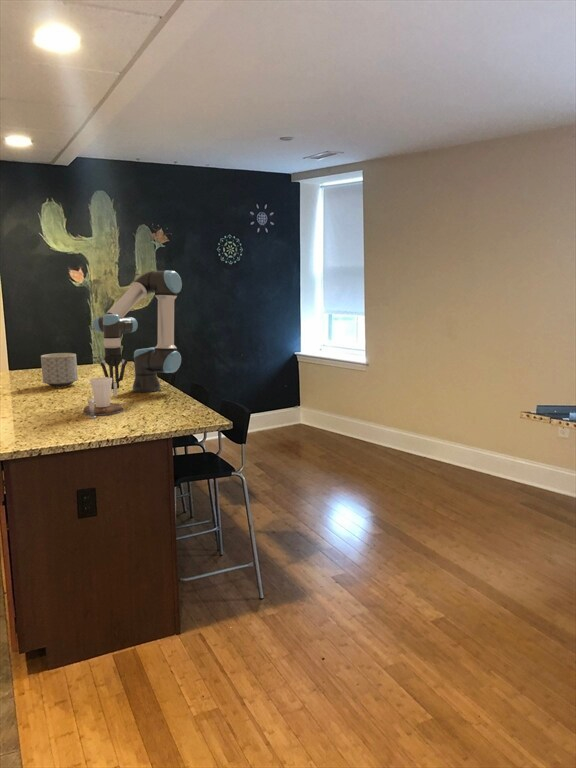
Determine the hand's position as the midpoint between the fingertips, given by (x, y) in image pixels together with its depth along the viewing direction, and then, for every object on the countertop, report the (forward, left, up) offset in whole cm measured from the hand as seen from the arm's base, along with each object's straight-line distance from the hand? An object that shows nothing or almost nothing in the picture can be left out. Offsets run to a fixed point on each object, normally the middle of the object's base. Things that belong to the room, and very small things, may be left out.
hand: (115, 395), depth 293 cm
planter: (+26, -71, -5) cm, 76 cm away
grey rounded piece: (+11, +22, -5) cm, 25 cm away
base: (+6, +11, -5) cm, 14 cm away
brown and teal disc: (+6, +9, -4) cm, 12 cm away
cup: (+6, +11, -3) cm, 13 cm away
